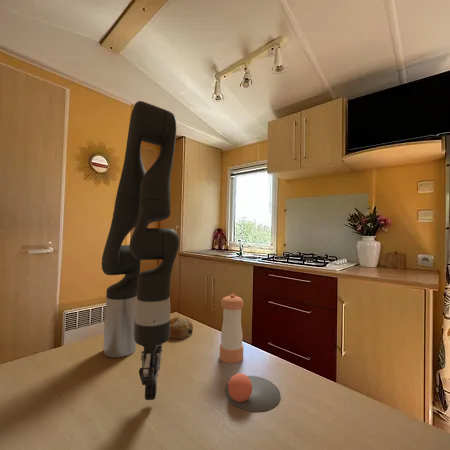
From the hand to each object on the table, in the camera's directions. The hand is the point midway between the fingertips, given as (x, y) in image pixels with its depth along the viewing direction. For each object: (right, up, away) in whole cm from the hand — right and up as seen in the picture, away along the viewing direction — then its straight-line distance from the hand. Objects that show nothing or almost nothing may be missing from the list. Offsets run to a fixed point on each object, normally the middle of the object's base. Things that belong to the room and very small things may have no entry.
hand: (150, 397), depth 55 cm
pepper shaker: (+18, -3, +21) cm, 28 cm away
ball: (+20, +1, +2) cm, 20 cm away
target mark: (+23, -2, +5) cm, 24 cm away
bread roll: (-1, -3, +38) cm, 38 cm away
